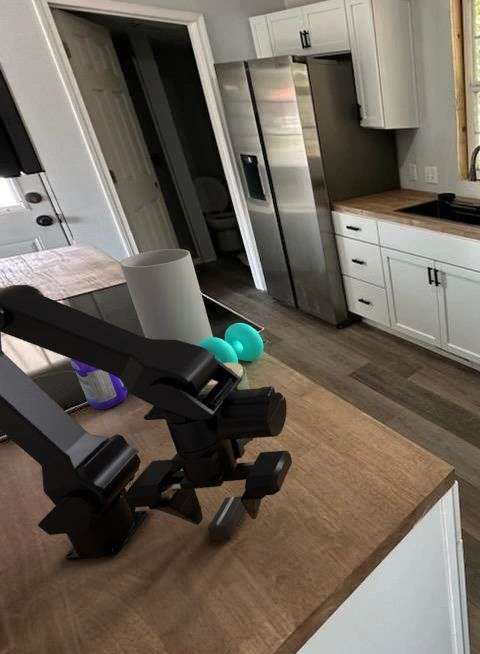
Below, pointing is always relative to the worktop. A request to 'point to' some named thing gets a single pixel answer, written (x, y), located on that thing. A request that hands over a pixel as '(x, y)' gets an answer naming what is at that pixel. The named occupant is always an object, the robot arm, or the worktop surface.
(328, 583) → the worktop surface
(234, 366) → the green lidded jar
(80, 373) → the bottle
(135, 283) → the cylinder vase
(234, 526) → the clip
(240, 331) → the cyan spool
